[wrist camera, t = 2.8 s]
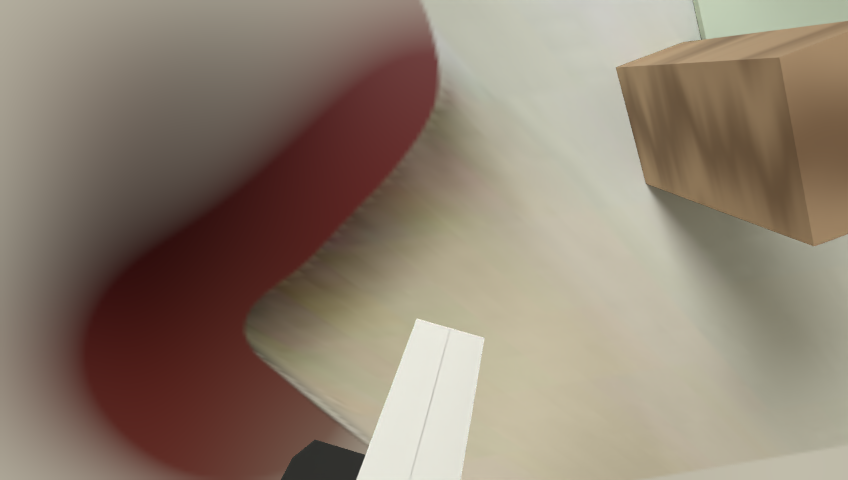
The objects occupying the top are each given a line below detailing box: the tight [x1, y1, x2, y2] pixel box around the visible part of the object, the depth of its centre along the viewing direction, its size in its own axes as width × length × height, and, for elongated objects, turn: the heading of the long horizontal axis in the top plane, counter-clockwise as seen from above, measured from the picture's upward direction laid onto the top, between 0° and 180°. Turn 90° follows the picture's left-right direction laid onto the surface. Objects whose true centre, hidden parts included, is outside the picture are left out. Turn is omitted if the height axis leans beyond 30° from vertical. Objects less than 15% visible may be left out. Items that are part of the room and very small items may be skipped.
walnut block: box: [616, 21, 848, 246], centre depth 28 cm, size 7×4×14 cm, turn 20°
